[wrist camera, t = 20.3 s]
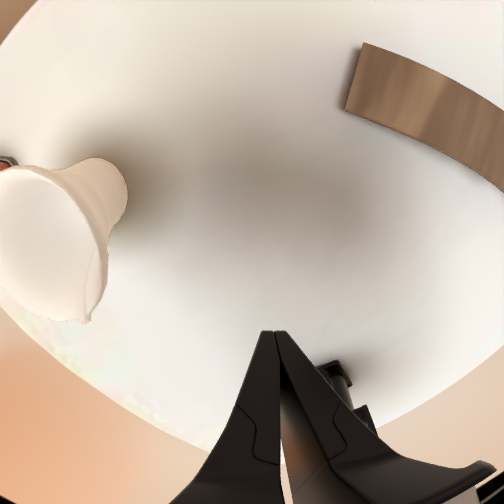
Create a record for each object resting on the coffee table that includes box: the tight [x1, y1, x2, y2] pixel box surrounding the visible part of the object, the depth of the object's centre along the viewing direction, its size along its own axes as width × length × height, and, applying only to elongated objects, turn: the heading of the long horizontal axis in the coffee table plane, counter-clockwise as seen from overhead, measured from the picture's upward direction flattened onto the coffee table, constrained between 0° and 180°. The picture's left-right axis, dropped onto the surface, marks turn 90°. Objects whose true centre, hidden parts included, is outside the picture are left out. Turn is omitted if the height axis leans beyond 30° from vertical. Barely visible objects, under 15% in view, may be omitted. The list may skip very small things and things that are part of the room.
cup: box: [0, 158, 128, 324], centre depth 15 cm, size 9×9×10 cm
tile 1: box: [345, 42, 504, 178], centre depth 15 cm, size 2×5×11 cm
